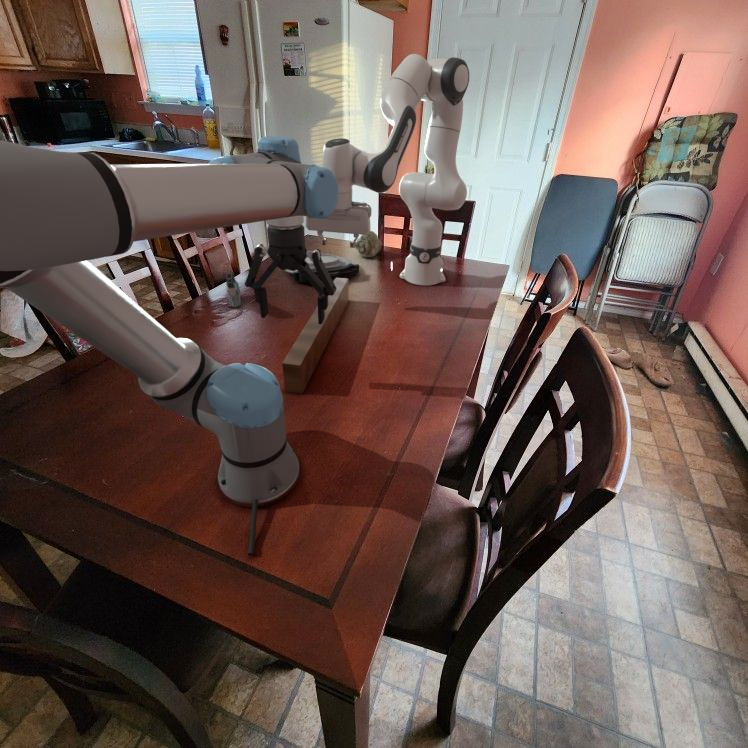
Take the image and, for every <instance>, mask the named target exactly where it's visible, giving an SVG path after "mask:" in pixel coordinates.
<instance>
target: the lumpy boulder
mask: <svg viewBox="0 0 748 748" xmlns="http://www.w3.org/2000/svg"><path fill="white" fill-rule="evenodd" d="M355 249H356V250H357V252H358V253H359V254H360V256H361V257H362V258H373V257H376V255H377V254H378V253H379V252H380V251H381V250H382V242H381V240H380V239H379V236H378V234H376V233H375V232H374V231H372V230H370V232H369V233H368V234H367V235H360V236H359V237H358V239H357V240H356V246H355Z"/></svg>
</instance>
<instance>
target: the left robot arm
mask: <svg viewBox="0 0 748 748" xmlns="http://www.w3.org/2000/svg"><path fill="white" fill-rule="evenodd" d="M299 145H300V144H299V142H298V141H297V140H296V139H295V138H293V137H288V136H262V137H260V138H258V140H257V149H256V152H254V153H253V152H252V153H243V154H234V155H227V154H226V155H223V156H220V157H216V158H213V159H211V160H209V162H208V163H147V164H145V163H144V164H143V163H141V164H139V163H134V164H133V163H132V164H131V163H129V164H124V163H123V164H121V163H120V164H113V163H112V164H110V163H109V162H108V161H107V160H106V159H105V158H103V157H102V156H101V155H99V154H97V153H94V152H83V151H82V152H81V151H80V152H78V151H77V152H74V151H73V152H72V151H58V150H52V149H45V148H40V147H35V146H28V145H24V144H20V143H15V142H11V141H6V140H2V139H0V288H5V289H7V290H8V291H10V292H11V293H13V294H15V295H16V296H17V297H19V298H20V299H22V300H23V301H24V302H26V303H28V304H29V305H31V306H32V307H34V308H35V309H36V310H38V311H40V312H41V313H43V314H44V315H46V316H47V317H49V318H51V320H53V321H54V322H56V323H57V324H59V325H60V326H62V327H63V328H65V329H67V330H68V331H69V332H71V333H72V334H73V335H75V336H77V337H78V338H79V339H81V340H83V342H85V343H87V344H89V345H90V346H92V347H93V348H95V349H96V350H97V351H99V352H101V353H102V354H103V355H105V356H106V357H108V358H109V359H111V360H112V361H113V362H116V364H118V365H120V367H123V368H124V369H126V370H127V371H129V372H130V373H131V374H133V375H135V377H137V381H138V386H139V388H140V389H141V391H142V392H143V393H144V394H146V395H147V396H149V398H151V400H153V401H154V402H155V403H156V404H157V405H158V406H160V407H162V408H163V409H166V410H168V411H171V412H174V414H177V415H179V416H181V417H183V418H185V419H186V420H189V421H190V422H192V423H194V424H196V425H198V426H200V427H202V428H204V429H205V430H207V431H209V432H211V433H213V434H214V435H216V437H217V438H218V442H219V446H220V450H221V454H222V455H221V459H220V464H219V468H218V473H217V482H218V486H219V489H220V492H221V494H222V496H223V497H224V499H225V500H226V501H228V502H229V503H231V504H233V505H235V506H238V507H241V508H246V509H251V518H250V519H251V521H250V531H249V543H248V544H249V545H248V550H247V555H248V556H250V557H252V556H254V555H255V546H256V532H257V518H258V517H257V516H258V508H259V509H260V508H265V507H268V506H271V505H274V504H275V503H277V502H280V501H281V500H283V499H284V498H286V497H287V496H289V494H290V493H291V492H292V491H293V490H294V489H295V487H296V486H297V484H298V482H299V478H300V474H301V473H300V462H299V459H298V456H297V451H296V449H294V448H292V446H291V444H289V442H288V439H287V430H286V428H287V427H286V419H285V418H286V417H285V409H284V407H285V406H284V396H283V393H282V390H281V385H280V382H279V380H278V378H277V377H276V375H274V373H273V372H272V371H270V370H269V369H268V368H266V367H264V366H261V365H259V364H256V363H252V362H251V363H250V362H246V363H245V364H242V363H241V362H236V363H235V362H234V363H230V364H227V365H225V364H223V363H220V362H219V361H216V360H215V359H214V358H212V357H211V356H210V355H209V354H208V353H206V351H204V350H203V349H202V348H201V347H200V346H199V345H198V344H197V343H195V341H193V340H191V339H189V338H186V337H175V336H174V335H173V334H172V333H171V332H170V331H169V330H168V329H167V328H165V327H164V326H163V325H162V324H161V323H160V322H158V320H157V319H155V318H154V317H153V316H152V315H150V314H149V312H147V311H146V310H145V309H144V308H143V307H142V306H141V305H140V304H138V303H137V302H136V301H135V300H134V299H133V298H132V297H130V296H129V295H128V294H127V293H126V292H125V291H124V290H122V289H121V287H119V286H118V285H117V284H116V283H115V282H113V281H112V280H111V279H110V278H109V277H108V276H107V275H105V274H104V272H102V271H101V270H100V269H99V268H98V267H96V265H94V263H92V262H91V261H92V260H97V259H98V260H99V259H101V258H106V257H112V256H113V257H114V256H118V255H123V254H125V253H128V251H130V250H131V248H132V246H133V244H134V242H141V241H146V240H153V239H159V238H165V237H171V236H178V235H184V234H190V233H191V234H192V233H196V232H203V231H210V230H216V229H221V228H228V227H233V226H234V227H235V226H241V225H247V224H253V223H258V222H265V223H266V224H267V226H266V233H267V234H266V235H267V242H268V246H264V244H263V243H259V244H258V245H257V246H255V247H254V249H253V250H254V251H253V253H254V258H253V260H252V263H251V265H250V268H249V271H248V273H247V276H246V279H245V282H244V286H245V287H246V288H251V289H252V290H253V293H254V300H255V302H256V303H257V304H259V311H260V317H261V318H262V319H266V317H267V316H268V314H269V313H270V311H269V303H268V295H267V287H266V286H263V285H264V284H265V282H266V281H268V279H269V277H270V276H272V274H273V273H274V271H275V270H276V269H277V268H278V269H280V270H281V271H285V270H287V269H288V270H291V271H295V270H298V271H299V273H300V274H303V276H304V277H305V278H306V279H307V280H308V281H309V282H308V283H309V284H310V286H312V288H313V289H314V290H315V292H317V294H318V296H317V298H316V300H317V307H318V324H322V323H323V321H324V319H325V314H324V310H326V309H327V308H328V296H329V295H331V296H332V295H333V294H334V293H335V291H336V287H335V285H334V283H333V282H334V280H333V279H331V277H330V275H329V273H328V271H327V269H326V267H325V265H324V263H323V261H322V258H321V254H322V251H321V250H320V249H319V248H316V249H315V250H307V248H306V235H305V233H306V232H305V225H303V224H305V223H304V222H305V220H304V219H305V218H304V217H306V216H307V217H309V218H319V219H324V218H327V217H328V216H330V215H331V214H332V212H333V211H334V209H335V207H336V205H337V201H338V183H337V179H336V177H335V175H334V174H333V172H332V171H330V170H329V169H327V168H324V167H322V166H318V165H316V164H306V163H302V161H301V155H300V154H301V153H300V146H299ZM267 255H268V256H269V258H270V259H271V260H272V262H271V263H270V264H269V265H268V266H267V268H266V269H265V271H264V272H263V273H262V275H260V277H259V278H258V280H256V279H257V276H258V273H259V271H260V267H261V265H262V263H263V260H264V257H266V256H267ZM307 257H309V258H310V260H311V261H312V262H313V264H314V266H315V268H316V270H317V272H318V274H319V276H320V278H321V280H322V281H321V280H320V279H319V278H318V277H317V276H316V274H315V273H314V272H313V271H312V270H311V268H310V267H309V264H308V263H307V262H306V261H305V259H306V258H307Z"/></svg>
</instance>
